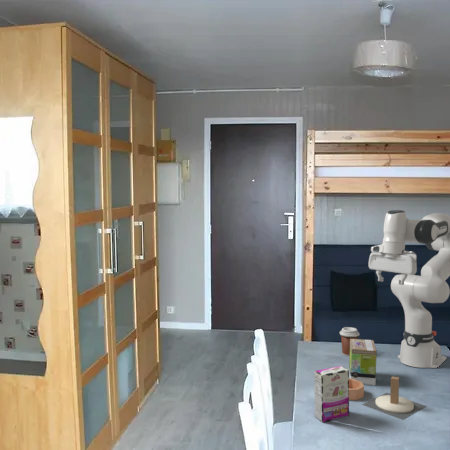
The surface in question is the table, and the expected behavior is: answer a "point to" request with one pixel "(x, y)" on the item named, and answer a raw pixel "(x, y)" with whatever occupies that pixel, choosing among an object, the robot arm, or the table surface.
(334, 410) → the candy bar box
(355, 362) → the tea box
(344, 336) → the coffee cup
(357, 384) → the bowl
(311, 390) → the table surface
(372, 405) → the mat
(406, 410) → the lid
